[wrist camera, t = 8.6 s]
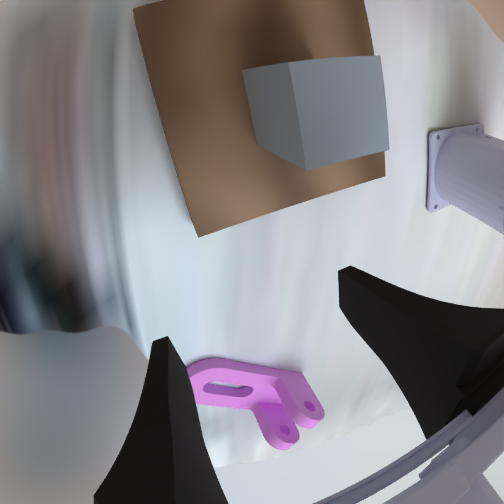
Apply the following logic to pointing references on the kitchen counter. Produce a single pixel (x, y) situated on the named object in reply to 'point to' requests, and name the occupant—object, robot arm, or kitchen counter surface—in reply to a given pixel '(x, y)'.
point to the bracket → (259, 396)
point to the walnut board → (242, 98)
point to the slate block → (319, 109)
